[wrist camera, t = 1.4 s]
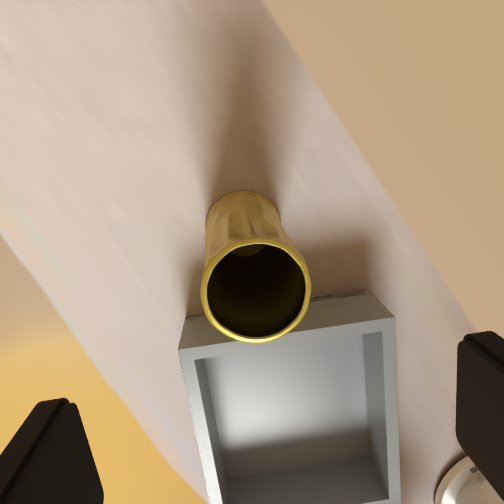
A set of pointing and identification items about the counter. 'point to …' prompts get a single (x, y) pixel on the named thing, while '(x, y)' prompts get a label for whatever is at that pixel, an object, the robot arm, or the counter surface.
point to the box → (298, 407)
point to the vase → (252, 271)
